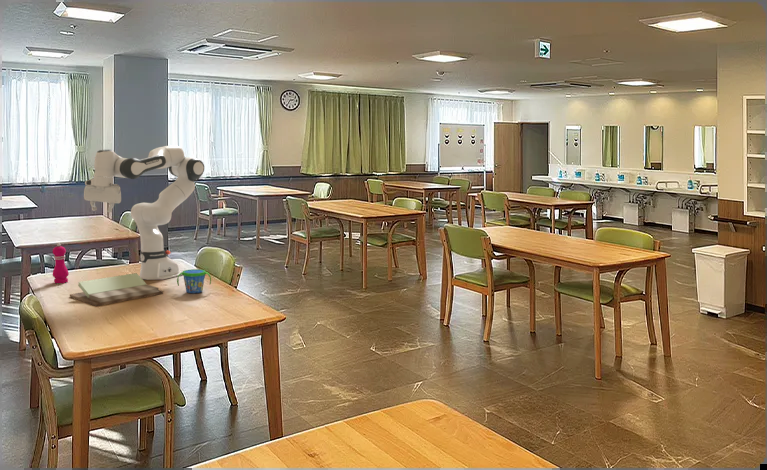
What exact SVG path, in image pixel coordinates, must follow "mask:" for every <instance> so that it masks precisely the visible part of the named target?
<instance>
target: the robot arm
mask: <svg viewBox="0 0 767 470" xmlns="http://www.w3.org/2000/svg"><path fill="white" fill-rule="evenodd" d="M159 169H161V170H163V169H168V171H169V174H170V175H172V176H174V177H175V178H176V177H177V178H176V180H175V181H173V182H172V183H171V184H169V185H168V186H167V187H165V188H164V189H163V190H162V191H160V193H159V194H158V199H157V200H155V201H154V202H140V203H136V204H134V205H132V207H131V209H130V217H131V218H132V220H133V221H134V222H135V224H136V227H137V230H138V232H139V236H140V239H139V240H140V254H139V255H140V257H139V258H140V271H139V276H140V277H141V279H142V280H148V281H149V280H151V281H152V280H166V279H172V278H176V277H178V275H179V274H180V273H182V272H183V271H181V270H180V269H179V268H180V267H179V265H178V263H177V262H176V261H175V260H173V259H171V258H170V257H169V256H168V255H171V253H172V252H171V251H170V250H165V249H164V236H163V234H162V232H161V230H160V229H159V226H163V225H166V224H167V225H168V223H169V222H170V221H171V219H172V217H173V216H172V213H173V211H174V210H175V209H176V208H177V207H178V206H180V205H181V204H182V203H183V202H185V201H186V200H187V199H188V198H189V197H190V196H191V194H193V192H194V190H195V188H196V185H195V182H198V181H199V180H200V178H201V177H202V175H203V174H204V171H205V164H204V162H203V161H202V160H201V159H199V158H196V157H189V156H188V157H187V156H186V157H185V152H184V150H183V148H182V147H181V146H178V145H164V146H159V147H155V148H154V149H151V150H150V151H149V153H148V156H147V157H146V158H141V159H140V158H136V157H133V158H132V157H131V158H130V157H129V158H126V157H123V156H120V155H118V154H117V153H116V152H115V151H114V150H113V149H99V150H97V152H96V153H95V157H94V173H93V178H90V179H87V180H84V181H85V182H84V184H85V186H84V189H83V199H84V201H88V202H89V204H90V206H91V211H93V212H95V211H96V212H97V211H98V207H97V206H96V203H97V202H99V203H100V202H101V203H106V204H107V203H108V208H106V212H107V213H112V212H113V208H114V207H115V204H120V203H121V202H122V192H121V186H120V185H119V184H118V183H116V184H115V183H114V177H116V178H122V179H123V178H125V179H129V180H130V179H131V180H135V179H138V178H139V177H140V176H141V177H142V175H143V174H144V173H146V172H149V171H153V170H159ZM180 276H183V275H182V274H181V275H180ZM180 276H179V277H180Z"/></svg>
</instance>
